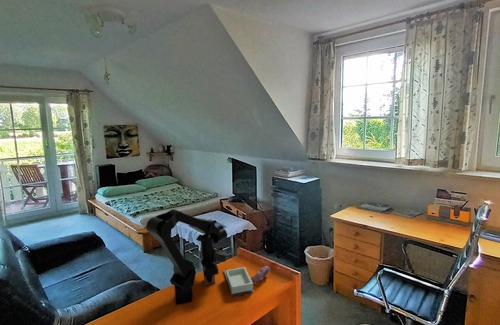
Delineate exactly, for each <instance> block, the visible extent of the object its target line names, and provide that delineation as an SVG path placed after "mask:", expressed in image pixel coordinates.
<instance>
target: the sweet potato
mask: <svg viewBox="0 0 500 325" xmlns="http://www.w3.org/2000/svg"><path fill="white" fill-rule="evenodd" d="M270 271H271V267H270V266H267V265H264V266H263V267H260V268H259V271H257V272H256V273H255V275H253V276H252V277H250V278H251V280H252V282H253V284H254V283H257V282H261V281H263V279H264V278H266V277H267V275H268V273H269V272H270Z"/></svg>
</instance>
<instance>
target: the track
mask: <svg viewBox="0 0 500 325" xmlns="http://www.w3.org/2000/svg"><path fill="white" fill-rule="evenodd" d="M237 268H238V267H236V268H234V269H237ZM239 268H242V266H241V267H239ZM231 269H232V268H230V269H229V268H228V270H231ZM226 270H227V269H224V270H223V274H224V276H225V277H224V278H225V279H226V283H227V286H228V288H229V290H230V293H231V294H230V295H231V296H232V298H233V297H238V296H242V295H247V294H252V293H254V289H253V290H250V291H245V292H240V293H235V294H232V292H231V289H230V286H229V283H228V281H227V278H226Z"/></svg>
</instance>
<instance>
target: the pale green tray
mask: <svg viewBox="0 0 500 325" xmlns="http://www.w3.org/2000/svg"><path fill="white" fill-rule="evenodd" d="M241 267H242V266H241ZM236 268H237V269H235V268H230V269H231V270H229V269H225V270H226V277H225V279H226V278H227V280H226V282H227V281H228V283H229V286H230V289H231V292H232V294H235V293H240V292H245V291H250V290H253V291H254V283H253V282H252V280H251V278H252V277H251V276H250V275H249V273H248V270H247V268H246V267H245V266H243V267H242V268H240V267H236ZM228 283H227V284H228ZM229 286H228V287H229ZM230 289H229V290H230ZM231 292H230V293H231ZM232 294H231V295H232Z"/></svg>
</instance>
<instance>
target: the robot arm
mask: <svg viewBox="0 0 500 325" xmlns="http://www.w3.org/2000/svg"><path fill="white" fill-rule="evenodd" d="M178 223H182V224H184V225H188V226H191V227H192V228H194V229H195V230H196V231H197V232H200V233H203V234H199V235H198V236H197V237H196V241H197V242H200V251H199V259H200V264H201V266H202V273H203V277H204V276H206V278H207V280H208V282H209V283H210V282H212V277H213V275H215V276H216V275H219V274H220V273H219V267H218V265H217V264H215V263H217V261H219V262H223V263H226V261H227V258H228V253H227V251H226V250H225V249H224V248H223V246H220V245H219V246H218V247H217V248H216V249H215V245H214V244H218V243H221V242H222V241H224V240H226V239H227V237H228V233H227V230H226V228H225V227H224V225H221V224H219V225H218V226H216V223H215V222H214V221H212V220H209V219H206V218H200V217H198V218H197V217H195V216H193V215H189V214H187V213H184V212H182V211H181V210H177V209H176V208H175V209H173V208H172V209H170V210H169V211H166V212H164V213H160V214H158V215H155V216H153V217H151V218H149V220H147V223H146V226H145V230H146V231H147V232H148V233H149V234H150V235H151V236H152V237H153V238H154V239H156V240H157V241H158V242H159V244H160V245H161V247H162V248H163V250H164V252H165V253H166V255H167V257H168V259H169V260H170V262H171V264H172V265H173V269H172V270H173V274H172V276H171V278H170V280H169V283H170V284H171V285H172V286H173V287H174V296H175V297H174V299H175V300H174V302H175V305H181V304H186V303H191V302H193V287H194V284H195V280H196V274H197V271H196V270H197V268H196V267H195V265H194V263H193V261H190V260H188V259H187V258H184V256H183V255H182V253H181V251H180V249H179V248H178V246H177V244H176V243H175V241H174V239H173V237H172V229H174V228H176V225H177V224H178Z"/></svg>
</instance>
